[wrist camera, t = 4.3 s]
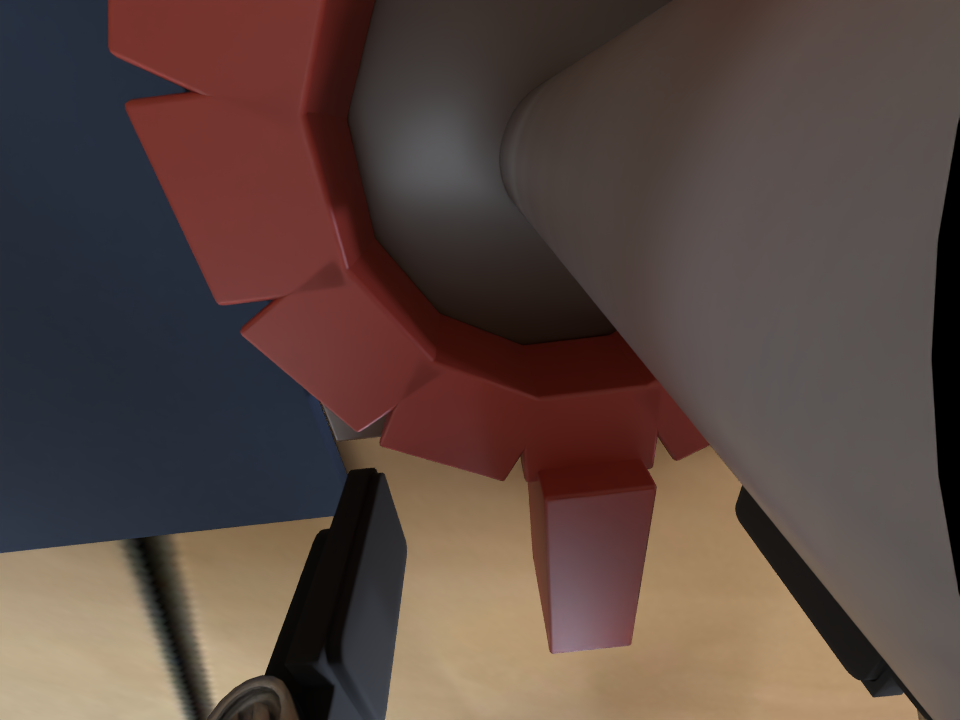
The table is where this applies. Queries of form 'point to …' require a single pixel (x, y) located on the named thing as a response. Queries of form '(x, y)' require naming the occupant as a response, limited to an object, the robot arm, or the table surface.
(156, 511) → the mat
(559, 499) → the ring
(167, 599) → the table surface
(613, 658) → the table surface
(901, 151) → the post stand
